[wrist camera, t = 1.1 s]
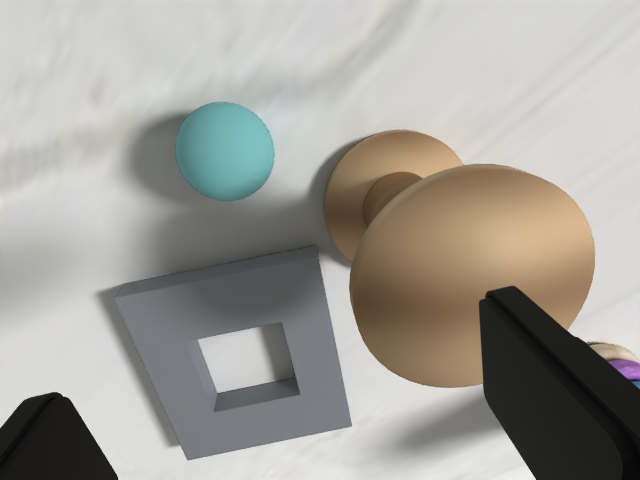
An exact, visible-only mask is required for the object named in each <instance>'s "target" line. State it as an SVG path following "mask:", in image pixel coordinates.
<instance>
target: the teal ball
mask: <svg viewBox="0 0 640 480" xmlns="http://www.w3.org/2000/svg"><path fill="white" fill-rule="evenodd" d="M175 154H176V160H177V164H178V167H179V169H180V171H181V173H182V175H183V176H184V178H185V179H186V181H187V182H188V183H189V184H190V185H191V186H192V187H193V188H194V189H195V190H197V191H198V192H200V193H201V194H203V195H205V196H207V197H210V198H212V199H216V200H222V201H233V200H239V199H243V198H245V197H247V196H249V195H251V194H253V193H255V192H256V191H257V190H258V189H260V188H261V187H262V186H263V184H264V183H265V182H266V180H267V179H268V177H269V175H270V173H271V170H272V168H273V163H274V145H273V141H272V137H271V135H270V133H269V130H268V129H267V127H266V125H265V124H264V123H263V121H262V120H261V119H260V118H259V117H258V116H257V115H256V114H254V113H253V112H252V111H250V110H249V109H247V108H245V107H243V106H241V105H238V104H234V103H228V102H215V103H210V104H206V105H204V106H202V107H200V108H198V109H196V110H195V111H194V112H192V113H191V114H190V115H189V116H188V117H187V118H186V119H185V120H184V122H183V123H182V125H181V127H180V129H179V131H178V134H177V138H176V144H175Z"/></svg>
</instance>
